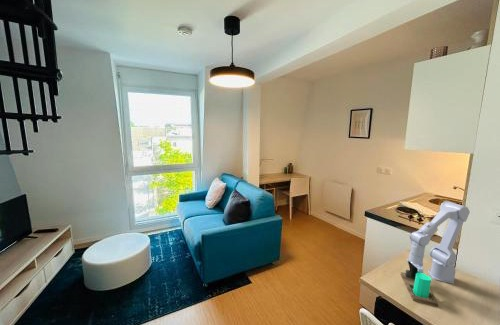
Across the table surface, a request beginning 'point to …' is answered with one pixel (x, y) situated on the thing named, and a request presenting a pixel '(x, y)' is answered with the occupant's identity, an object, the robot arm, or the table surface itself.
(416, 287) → the candle
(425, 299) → the brown compartment tray
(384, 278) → the table surface
